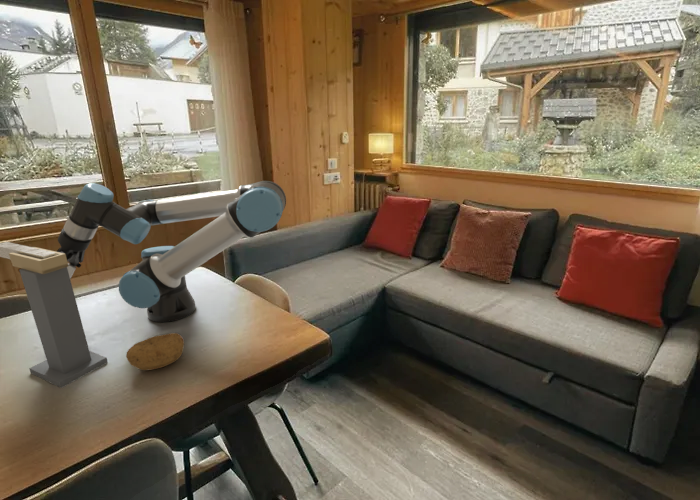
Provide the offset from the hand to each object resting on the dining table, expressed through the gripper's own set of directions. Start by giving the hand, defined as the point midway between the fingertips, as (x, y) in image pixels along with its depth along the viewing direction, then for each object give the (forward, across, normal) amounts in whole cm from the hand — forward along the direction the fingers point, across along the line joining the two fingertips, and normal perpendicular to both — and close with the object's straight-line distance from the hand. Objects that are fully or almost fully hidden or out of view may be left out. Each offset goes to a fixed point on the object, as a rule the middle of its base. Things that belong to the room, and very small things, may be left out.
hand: (48, 291), depth 121 cm
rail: (-16, +15, -2) cm, 22 cm away
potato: (-9, +19, +39) cm, 44 cm away
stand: (+5, +18, +19) cm, 27 cm away
